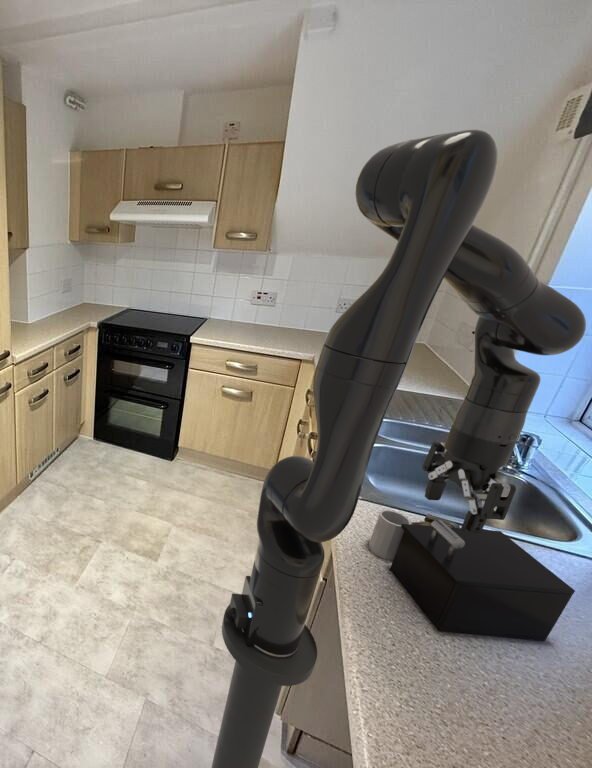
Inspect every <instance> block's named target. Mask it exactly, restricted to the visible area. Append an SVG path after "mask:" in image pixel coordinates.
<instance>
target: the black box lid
mask: <svg viewBox="0 0 592 768" xmlns="http://www.w3.org/2000/svg"><path fill="white" fill-rule="evenodd" d="M401 528H402V529H403V530H404V531H405V532H406V533H407V534H408V535H409V536H410V537H411V538H412V539H413V540H414V541H415V543H416V544H417V545H418V546H419V547H420V548H421V549H422V550H423V551H424V552H425V553H426V554H427V555H428V556H429V557H430V559H431V560H432V561H433V562H434V563H435V564H436V565H437V566H438V567H439V568H440V569H441V570H442V571H443V572H444V573H445V574H446V576H447V577H448V578H449V579H450V580H451V581H452V582H453V583H454V584H456V585H468V586H480V587H491V588H503V589H515V590H527V591H538V592H550V593H562V594H572V595H574V594H575V592H576V590H575V589H574V588H573V587H571V586H570V585H569V584H567V582H565V581H564V580H563V579H561V578H560V577H559V576H557V575H556V574H555V573H554V572H552V571H551V570H550V569H549V568H548V567H547V566H545V565H544V564H542V563H541V562H540V561H539V560H538V559H536V558H535V557H533V555H531V554H530V553H528V552H527V551H526V550H525V549H524V548H522V547H521V546H520V545H519V544H517V543H516V542H515V541H514V540H512V539H511V538H510V537H509V536H507V534H505V533H503V532H502V531H501V530H492V529H491V530H490V529H482V531H481V532H480V533H476V534H474V533H465V532H464V531H463V530H462V529H461V527H460V528H453V527H448V526H447V525H446V524H445V523H444V522H443V521H441V520H435V521H433V522H432V523H431V526H427V525H414V524H402V525H401Z"/></svg>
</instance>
